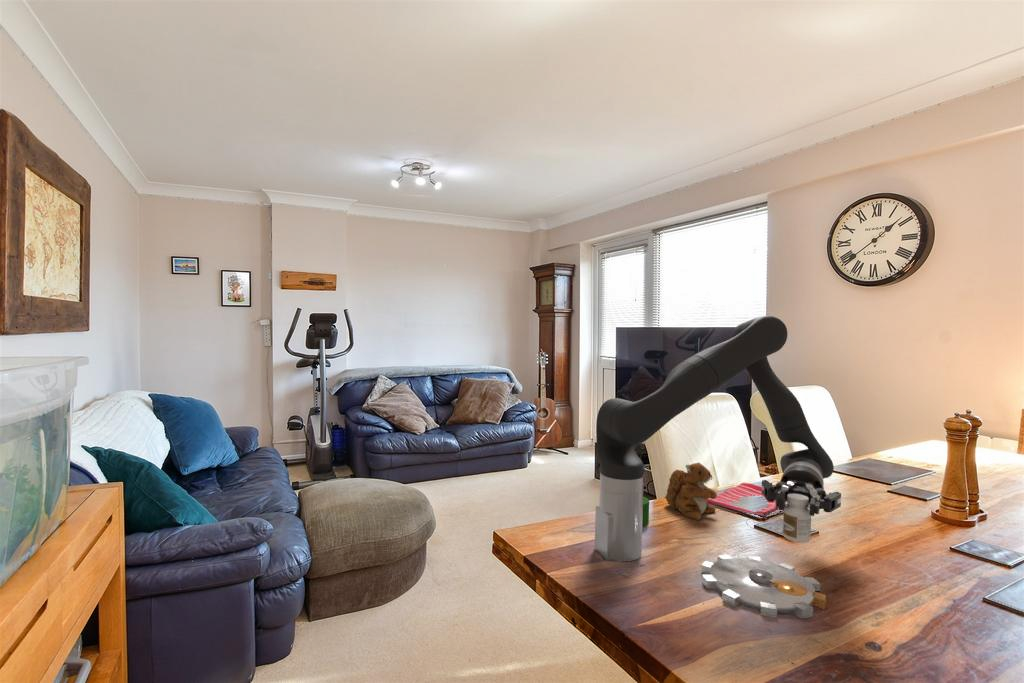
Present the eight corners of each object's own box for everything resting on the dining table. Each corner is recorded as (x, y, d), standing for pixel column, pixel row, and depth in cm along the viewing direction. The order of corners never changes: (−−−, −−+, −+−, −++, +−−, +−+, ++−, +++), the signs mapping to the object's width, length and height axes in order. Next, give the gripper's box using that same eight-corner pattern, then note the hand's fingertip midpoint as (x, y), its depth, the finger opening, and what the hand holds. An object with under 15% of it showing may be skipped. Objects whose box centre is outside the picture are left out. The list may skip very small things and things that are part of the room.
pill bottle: (777, 533, 95) (779, 492, 95) (800, 533, 96) (801, 492, 95) (792, 543, 91) (793, 500, 91) (815, 543, 91) (817, 500, 91)
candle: (649, 517, 133) (650, 479, 132) (647, 529, 125) (648, 488, 124) (617, 512, 135) (618, 475, 135) (613, 524, 127) (614, 484, 127)
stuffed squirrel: (700, 522, 130) (701, 470, 129) (654, 505, 141) (656, 458, 141) (722, 514, 136) (723, 465, 135) (676, 499, 147) (678, 453, 147)
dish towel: (799, 504, 147) (800, 494, 146) (764, 523, 131) (764, 513, 131) (740, 488, 159) (740, 480, 159) (701, 505, 144) (702, 495, 144)
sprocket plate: (755, 626, 84) (756, 611, 84) (679, 567, 105) (679, 555, 105) (854, 609, 90) (854, 595, 90) (763, 556, 111) (763, 545, 110)
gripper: (764, 459, 109) (753, 479, 94) (844, 470, 101) (845, 494, 87) (763, 494, 109) (751, 519, 95) (842, 508, 102) (843, 537, 87)
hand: (796, 507), depth 91 cm, fingers closed on pill bottle, 4 cm apart
